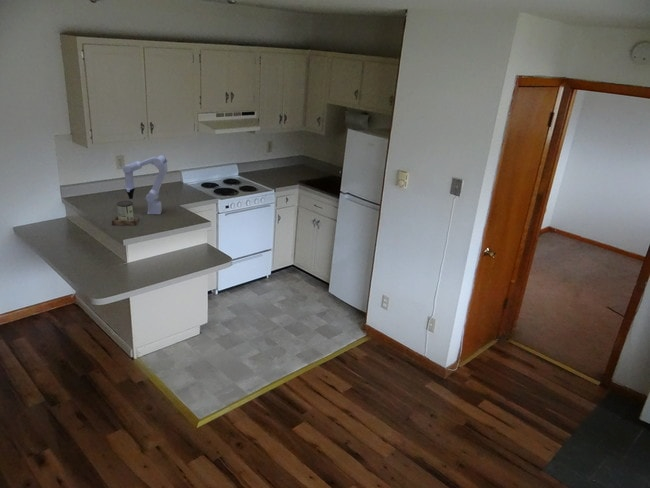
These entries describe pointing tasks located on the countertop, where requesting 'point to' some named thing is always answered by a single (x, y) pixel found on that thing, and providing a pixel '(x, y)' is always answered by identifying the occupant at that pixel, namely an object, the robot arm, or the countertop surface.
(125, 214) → the coffee can
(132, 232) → the countertop surface
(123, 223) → the can dock
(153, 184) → the robot arm
